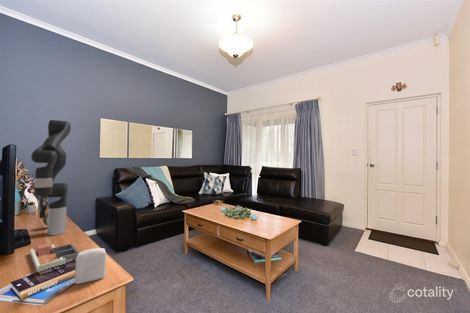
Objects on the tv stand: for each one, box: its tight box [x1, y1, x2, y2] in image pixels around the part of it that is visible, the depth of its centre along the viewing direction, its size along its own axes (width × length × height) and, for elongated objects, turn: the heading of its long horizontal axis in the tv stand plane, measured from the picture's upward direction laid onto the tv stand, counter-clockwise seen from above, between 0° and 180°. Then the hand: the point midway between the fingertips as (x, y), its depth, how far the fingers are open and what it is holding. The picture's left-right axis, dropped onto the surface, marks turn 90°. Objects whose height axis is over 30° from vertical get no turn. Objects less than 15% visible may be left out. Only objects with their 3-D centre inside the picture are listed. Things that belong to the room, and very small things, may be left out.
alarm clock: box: [42, 212, 48, 230], centre depth 150 cm, size 11×5×16 cm, turn 148°
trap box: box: [30, 243, 81, 272], centre depth 103 cm, size 30×16×4 cm, turn 49°
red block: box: [35, 242, 51, 257], centre depth 108 cm, size 6×4×4 cm
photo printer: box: [74, 247, 107, 285], centre depth 85 cm, size 10×4×12 cm, turn 123°
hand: (42, 217), depth 114 cm, fingers closed
